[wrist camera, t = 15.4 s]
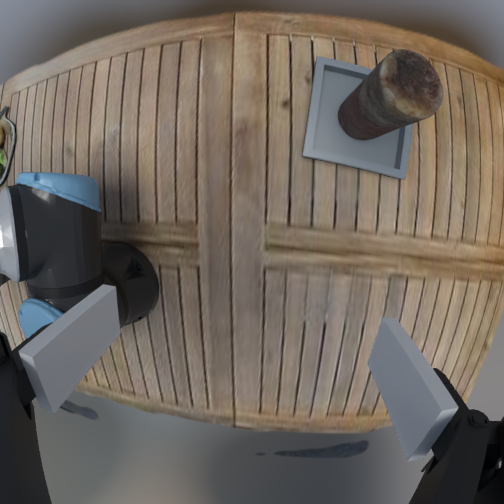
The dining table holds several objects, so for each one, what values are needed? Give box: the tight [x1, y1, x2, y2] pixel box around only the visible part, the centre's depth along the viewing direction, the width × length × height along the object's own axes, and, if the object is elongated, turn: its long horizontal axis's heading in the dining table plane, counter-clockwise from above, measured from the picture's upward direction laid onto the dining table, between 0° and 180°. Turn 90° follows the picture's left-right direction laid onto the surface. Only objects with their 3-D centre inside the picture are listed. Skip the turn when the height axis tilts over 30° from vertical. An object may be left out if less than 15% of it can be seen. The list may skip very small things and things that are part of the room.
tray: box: [302, 56, 413, 180], centre depth 38 cm, size 16×16×3 cm
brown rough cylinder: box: [338, 49, 443, 140], centre depth 29 cm, size 8×7×20 cm
